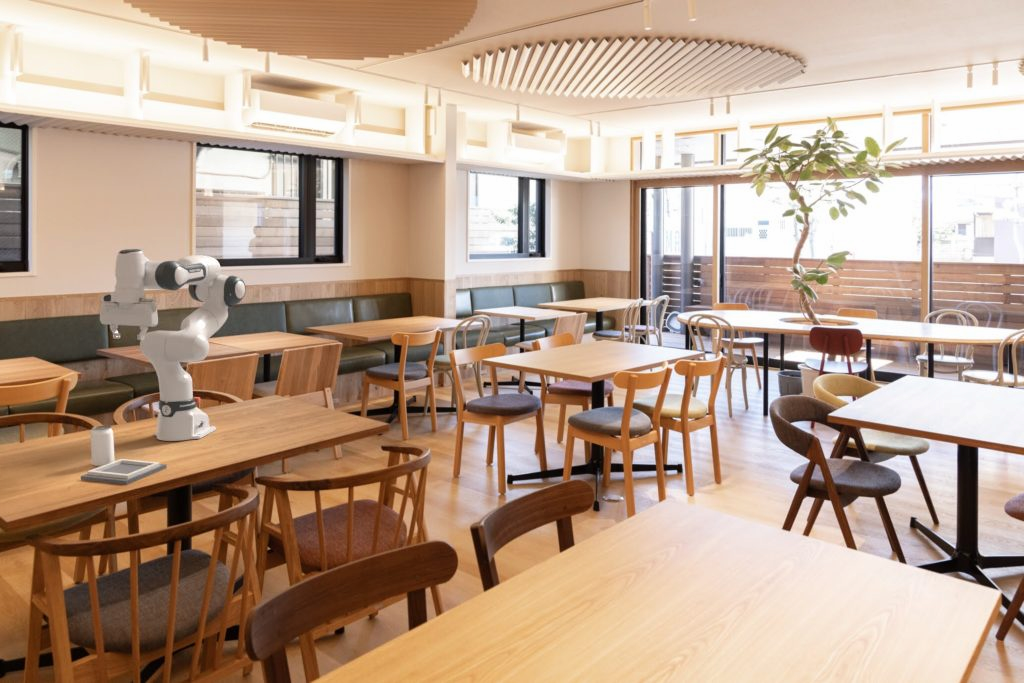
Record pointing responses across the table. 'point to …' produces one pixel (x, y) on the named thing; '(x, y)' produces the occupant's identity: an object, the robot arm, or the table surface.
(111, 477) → the grey rimmed tray
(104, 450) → the can
